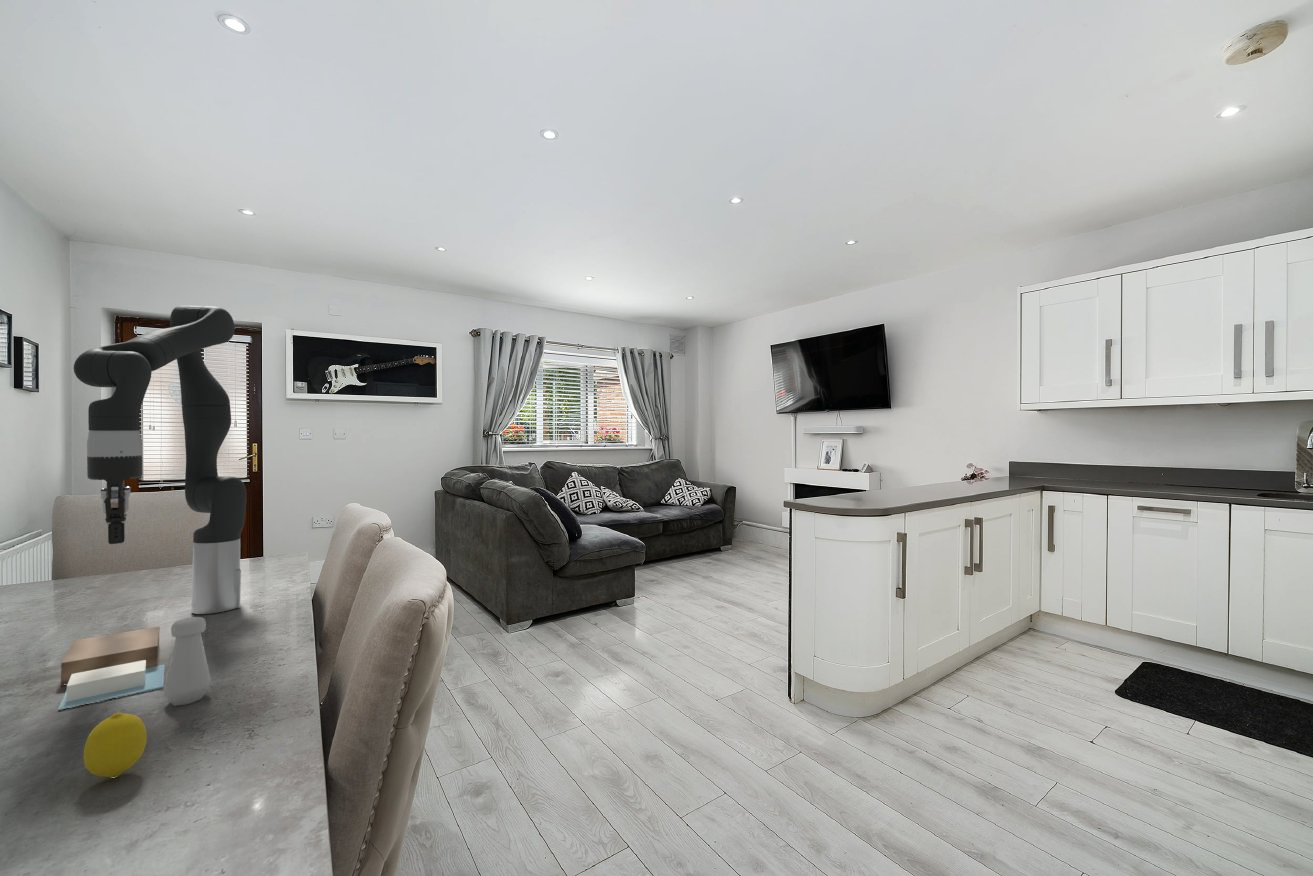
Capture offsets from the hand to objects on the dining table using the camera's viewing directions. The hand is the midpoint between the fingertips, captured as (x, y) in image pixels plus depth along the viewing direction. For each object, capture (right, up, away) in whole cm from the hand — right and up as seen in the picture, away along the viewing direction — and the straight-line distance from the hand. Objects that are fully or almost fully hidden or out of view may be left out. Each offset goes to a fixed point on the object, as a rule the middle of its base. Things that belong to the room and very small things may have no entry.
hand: (116, 542), depth 104 cm
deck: (+3, -22, -4) cm, 23 cm away
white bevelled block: (+12, -19, -14) cm, 27 cm away
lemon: (+38, -22, -37) cm, 58 cm away
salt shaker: (+29, -22, -17) cm, 40 cm away
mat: (+13, -22, -13) cm, 29 cm away
